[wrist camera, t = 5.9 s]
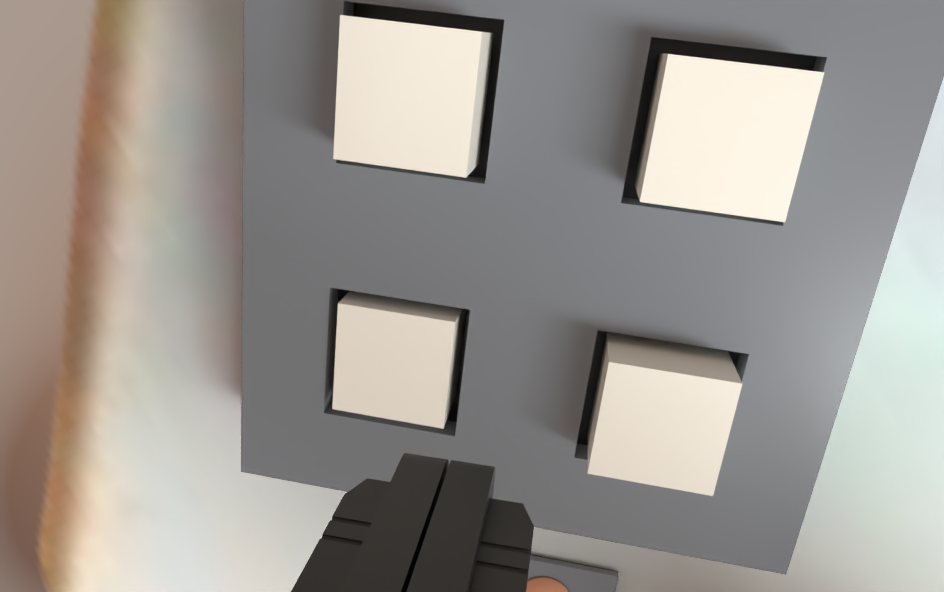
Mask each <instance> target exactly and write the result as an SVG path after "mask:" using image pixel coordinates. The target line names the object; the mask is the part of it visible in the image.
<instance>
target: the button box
mask: <svg viewBox="0 0 944 592" xmlns="http://www.w3.org/2000/svg"><path fill="white" fill-rule="evenodd" d="M340 15H345V16H353V17H362V18H370V19H378V20H387V21H395V22H404V23H412V24H421V25H429V26H437V27H446V28H454V29H463V30H471V31H479V32H487V33H494V36H493V44H492V53H491V62H490V70H489V79H488V88H487V97H486V105H485V114H484V123H483V131H482V140H481V149H480V158H479V164H478V165H477V166H476V168H475V169H474V170H473V171H472V172H471V173H470V174H469V175H468V176H467V177H466V178H465V177H458V176H451V175H444V174H437V173H429V172H422V171H415V170H408V169H401V168H394V167H387V166H380V165H372V164H365V163H358V162H351V161H344V160H337V159H333V153H334V132H335V111H336V90H337V69H338V48H339V27H340ZM659 53H664V54H673V55H682V56H690V57H699V58H707V59H715V60H724V61H732V62H741V63H749V64H758V65H766V66H774V67H783V68H791V69H800V70H808V71H816V72H825V73H824V76H823V80H822V84H821V88H820V92H819V95H818V99H817V103H816V107H815V111H814V114H813V118H812V122H811V126H810V130H809V133H808V137H807V141H806V145H805V149H804V152H803V156H802V160H801V164H800V168H799V171H798V175H797V179H796V183H795V187H794V190H793V194H792V198H791V202H790V206H789V209H788V213H787V217H786V221H785V222H779V221H772V220H765V219H758V218H751V217H744V216H737V215H729V214H722V213H715V212H708V211H701V210H694V209H687V208H679V207H672V206H665V205H658V204H651V203H644V202H640V201H639V198H638V195H637V192H636V189H635V186H634V185H635V180H636V175H637V169H638V164H639V159H640V153H641V148H642V143H643V137H644V132H645V127H646V122H647V116H648V111H649V106H650V100H651V95H652V90H653V84H654V79H655V74H656V68H657V63H658V58H659ZM943 77H944V0H244V64H243V236H242V407H241V472H246V473H251V474H257V475H262V476H267V477H272V478H278V479H283V480H288V481H294V482H299V483H304V484H310V485H315V486H320V487H325V488H331V489H336V490H341V491H347V492H349V491H350V490H352V489H353V488H354V487H356V486H357V485H358V484H360V483H361V482H363V481H364V480H365V479H367V478H369V479H375V480H381V481H387V482H390V481H391V479H392V477H393V475H394V473H395V471H396V468H397V466H398V464H399V462H400V460H401V458H402V456H403V454H404V453H410V454H416V455H423V456H429V457H435V458H442V459H448V460H449V464H450V462H451V460H455V461H462V462H468V463H474V464H481V465H487V466H493V467H495V481H494V490H493V499H499V500H505V501H511V502H517V503H523V504H524V507H525V509H526V511H527V513H528V515H529V517H530V519H531V521H532V523H533V525H534V527H538V528H543V529H548V530H553V531H559V532H564V533H569V534H575V535H580V536H585V537H591V538H596V539H601V540H606V541H612V542H617V543H622V544H628V545H633V546H638V547H644V548H649V549H654V550H659V551H665V552H670V553H675V554H681V555H686V556H691V557H697V558H702V559H707V560H713V561H718V562H723V563H728V564H734V565H739V566H744V567H750V568H755V569H760V570H766V571H771V572H776V573H781V574H786V573H787V570H788V566H789V563H790V560H791V557H792V554H793V551H794V547H795V544H796V541H797V538H798V535H799V532H800V528H801V525H802V522H803V519H804V516H805V513H806V510H807V506H808V503H809V500H810V497H811V494H812V491H813V487H814V484H815V481H816V478H817V475H818V472H819V468H820V465H821V462H822V459H823V456H824V453H825V450H826V446H827V443H828V440H829V437H830V434H831V431H832V427H833V424H834V421H835V418H836V415H837V412H838V408H839V405H840V402H841V399H842V396H843V393H844V389H845V386H846V383H847V380H848V377H849V374H850V371H851V367H852V364H853V361H854V358H855V355H856V352H857V348H858V345H859V342H860V339H861V336H862V333H863V329H864V326H865V323H866V320H867V317H868V314H869V311H870V307H871V304H872V301H873V298H874V295H875V292H876V288H877V285H878V282H879V279H880V276H881V273H882V269H883V266H884V263H885V260H886V257H887V254H888V250H889V247H890V244H891V241H892V238H893V235H894V232H895V228H896V225H897V222H898V219H899V216H900V213H901V209H902V206H903V203H904V200H905V197H906V194H907V190H908V187H909V184H910V181H911V178H912V175H913V172H914V168H915V165H916V162H917V159H918V156H919V153H920V149H921V146H922V143H923V140H924V137H925V134H926V130H927V127H928V124H929V121H930V118H931V115H932V111H933V108H934V105H935V102H936V99H937V96H938V93H939V89H940V86H941V83H942V80H943ZM349 291H355V292H362V293H368V294H374V295H380V296H387V297H393V298H399V299H406V300H412V301H418V302H424V303H431V304H437V305H443V306H450V307H456V308H462V309H466V315H465V324H464V332H463V341H462V349H461V358H460V366H459V375H458V384H457V392H456V397H455V400H454V402H453V405H452V407H451V410H450V413H449V415H448V418H447V421H446V423H445V426H444V429H442V428H436V427H431V426H425V425H419V424H414V423H408V422H402V421H397V420H391V419H386V418H380V417H374V416H369V415H363V414H357V413H352V412H346V411H340V410H335V409H332V405H333V386H334V367H335V349H336V330H337V311H338V303H339V302H340V301H341V300H342V299H343V298H344V296H345V295H346V294H347V293H348V292H349ZM607 332H613V333H619V334H626V335H632V336H638V337H645V338H651V339H657V340H663V341H670V342H676V343H682V344H689V345H695V346H701V347H707V348H714V349H720V350H726V351H728V353H729V355H730V357H731V359H732V362H733V364H734V366H735V368H736V370H737V373H738V375H739V377H740V379H741V381H742V388H741V392H740V396H739V399H738V403H737V407H736V411H735V415H734V418H733V422H732V426H731V430H730V433H729V437H728V441H727V445H726V449H725V452H724V456H723V460H722V464H721V468H720V471H719V475H718V479H717V483H716V487H715V490H714V494H713V496H709V495H704V494H698V493H693V492H687V491H682V490H676V489H670V488H665V487H659V486H654V485H648V484H643V483H637V482H631V481H626V480H620V479H615V478H609V477H604V476H598V475H592V474H588V429H589V424H590V419H591V413H592V408H593V403H594V397H595V392H596V387H597V381H598V376H599V371H600V366H601V360H602V355H603V350H604V344H605V339H606V334H607Z"/></svg>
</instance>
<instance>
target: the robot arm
mask: <svg viewBox="0 0 944 592" xmlns="http://www.w3.org/2000/svg"><path fill="white" fill-rule="evenodd" d="M494 481H495V467H493V466H487V465H481V464H474V463H468V462H462V461H455V460H451V462H450V464H449V460H448V459H442V458H435V457H429V456H423V455H416V454H410V453H404V454H403V456H402V458H401V460H400V462H399V464H398V466H397V468H396V471H395V473H394V475H393V477H392V479H391V481H390V482H387V481H381V480H375V479H369V478H367V479H365V480H364V481H363V482H361V483H360V484H358V485H357V486H356V487H354V488H353V489H352V490H350V491H349V492H347V493H346V494H345V495H344V496H343V498H342V500H341V502H340V504H339V505H338V507H337V509H336V511H335V513H334V515H333V517H332V521H330V522H329V524H328V525H327V527H326V529H325V531H324V533H323V536H322V539H320V540H319V542H318V544H317V546H316V547H315V549H314V551H313V553H312V555H311V556H310V558H309V560H308V562H307V564H306V566H305V567H304V569H303V571H302V573H301V575H300V576H299V578H298V580H297V582H296V584H295V586H294V587H293V589H292V591H291V592H526V588H527V580H528V571H529V563H530V554H531V546H532V537H533V529H534V525H533V523H532V521H531V519H530V517H529V515H528V513H527V511H526V509H525V507H524V504H523V503H517V502H511V501H505V500H499V499H493V490H494Z"/></svg>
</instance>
